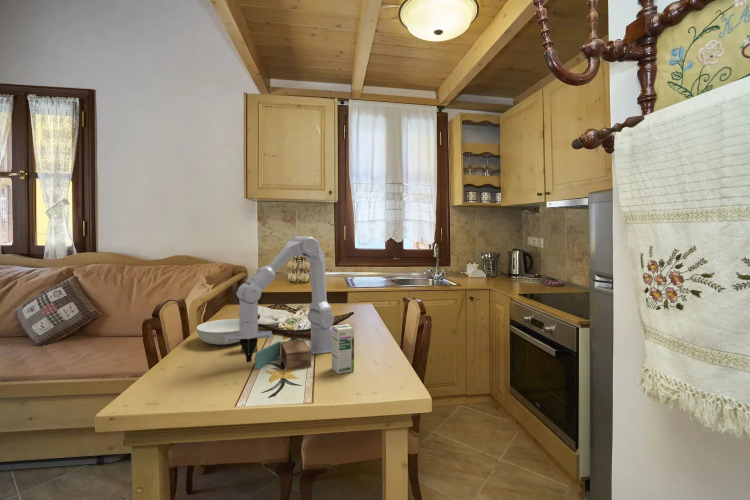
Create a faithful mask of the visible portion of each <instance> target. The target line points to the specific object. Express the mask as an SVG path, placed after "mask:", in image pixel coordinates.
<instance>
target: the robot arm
mask: <svg viewBox="0 0 750 500" xmlns="http://www.w3.org/2000/svg"><path fill="white" fill-rule="evenodd" d="M300 256H302V257H304V258H306V259H307V260H308V261H309V267H310V268H309V270H310V271H309V273H310V288H311V303H310V304H309V311H308V313H307V320H308V322H309V323H310V346H308V347H309V348H310V349H311V355H319V354H326V353H332V326H333V324H334V322H335V316H334V313H333V311H332V306H331V305H330V304H329V302H328V299H327V281H326V280H327V279H326V278H327V276H326V261H325V254H324V252H323V250H322V248H321V246H320V241H319V240H317V239H316V238H315V237H313V236H300V235H296V236H293V237H292V238H291V240H289V241H287V243H286V244H285V246H284V247H283V249H282V250H280V252H279V253H278V254H277V255H276V256H275V257H274V259H272V261H271V262H270V263H269V264H268V265H265V266H261V267H257V269H256V270H255V271H256V272H255V273H254V274H253V276H251V278H250V279H246V283H245V282H244V283H241V285H240V286H238V289H237V292H235V293H236V297H237V298H238V299H239V306H238V307H239V310H238V311H239V314H238V315H239V317H238V319H239V333H235V334H229V335H225V343H226V342H229V341H239V343H240V346H242V348H243V350H244V353H245V354H244V356H245V362H246V363H252V360H253V359H252V357H253V355H254V353H253V352H254V349H255V347H256V345H257V346H258V343H259V342H258V341H259V339H272V338H273V332H272V330H258V329H259V320H258V319H259V315H258V312H259V311H258V310H259V307H258V304H259V303H258V302H259V300H261V298H262V292H264V291H265V290H266V288H267V287H268V286H270V284H271V283H272V282H273V281H274V280H275V279H276V273H277V272H278V271H279V270H280V269H282V267H283V266H284V265H285V264H286V263H287V262H289V261H290V260H291V259H292V258H295V257H300ZM248 340H249V344H248ZM248 346H249V354H248Z"/></svg>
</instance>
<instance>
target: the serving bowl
mask: <svg viewBox="0 0 750 500" xmlns="http://www.w3.org/2000/svg"><path fill="white" fill-rule="evenodd" d="M196 333H197V335H198V337H199V338H200V339H201V341H203V342H204V343H207V344H211V345H217V346H228V345H232V344H235V343H240V341H229V342H226V343H225V335H229V334H235V333H239V318H232V319H231V318H230V319H229V318H228V319H216V320H210V321H207V322H203V323H200V324H198V325H197V326H196Z"/></svg>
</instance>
